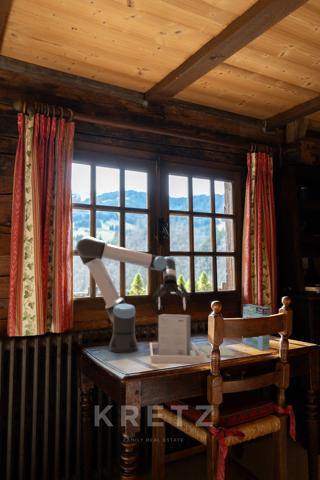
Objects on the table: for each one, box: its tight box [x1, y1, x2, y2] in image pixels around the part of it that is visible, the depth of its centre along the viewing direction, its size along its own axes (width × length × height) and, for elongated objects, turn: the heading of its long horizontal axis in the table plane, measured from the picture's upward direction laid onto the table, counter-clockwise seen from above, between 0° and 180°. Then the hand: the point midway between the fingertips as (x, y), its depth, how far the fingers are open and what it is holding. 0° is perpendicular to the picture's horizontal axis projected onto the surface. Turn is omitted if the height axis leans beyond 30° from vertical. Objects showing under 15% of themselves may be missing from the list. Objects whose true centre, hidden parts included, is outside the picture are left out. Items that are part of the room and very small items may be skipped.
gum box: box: [242, 303, 271, 351], centre depth 205 cm, size 20×5×23 cm, turn 20°
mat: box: [200, 345, 236, 358], centre depth 190 cm, size 14×20×1 cm
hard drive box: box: [157, 313, 191, 356], centre depth 183 cm, size 16×8×20 cm, turn 71°
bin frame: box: [149, 342, 203, 364], centre depth 183 cm, size 24×28×3 cm
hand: (172, 308), depth 192 cm, fingers open, 13 cm apart
